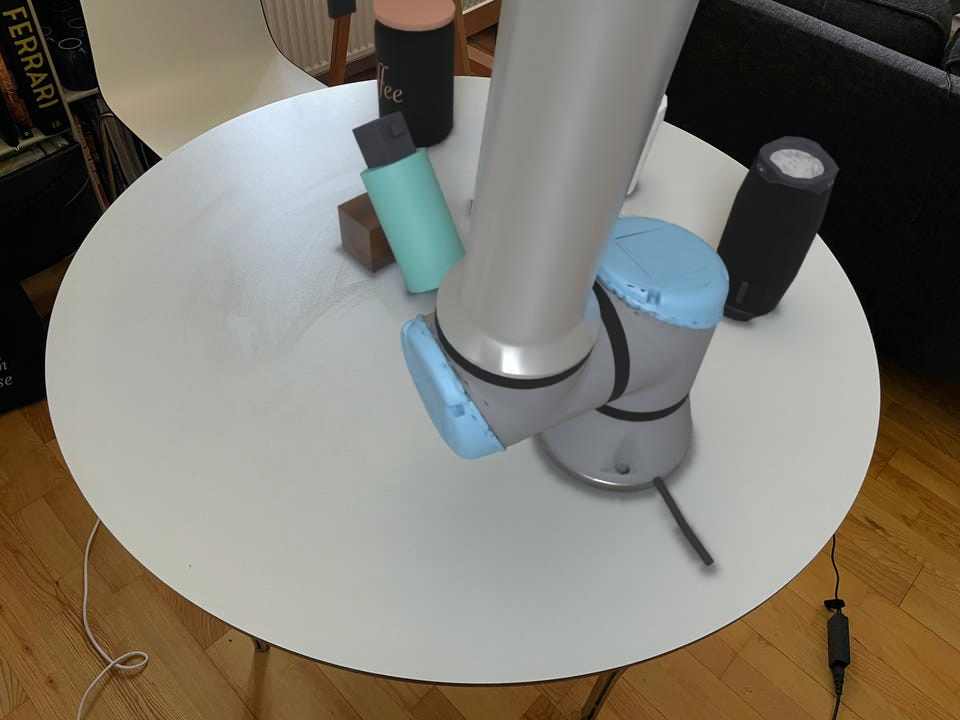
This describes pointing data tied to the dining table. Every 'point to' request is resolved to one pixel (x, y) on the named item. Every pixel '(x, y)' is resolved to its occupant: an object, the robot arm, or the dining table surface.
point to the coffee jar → (416, 65)
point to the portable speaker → (774, 223)
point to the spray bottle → (408, 202)
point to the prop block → (364, 234)
